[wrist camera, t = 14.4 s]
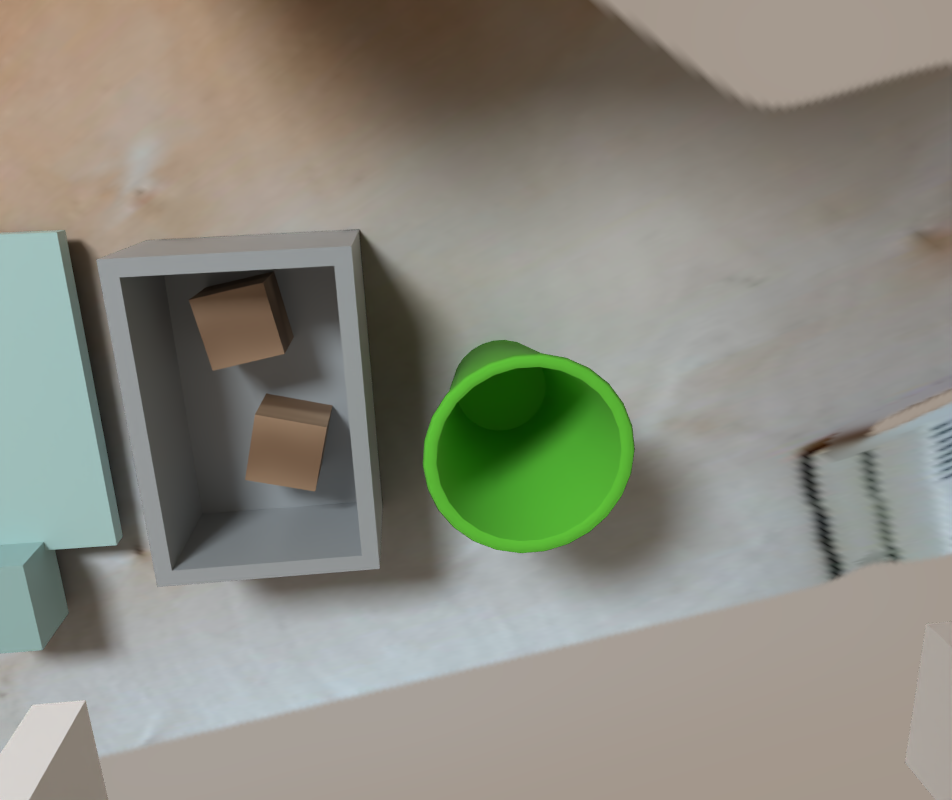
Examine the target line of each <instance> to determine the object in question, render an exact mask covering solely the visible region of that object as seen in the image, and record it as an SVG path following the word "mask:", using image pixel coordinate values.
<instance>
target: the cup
mask: <svg viewBox="0 0 952 800" xmlns="http://www.w3.org/2000/svg"><path fill="white" fill-rule="evenodd" d="M634 450H635V448H634V439H633V430H632V424H631V422H630V419H629V417H628V414H627V411H626V409H625V406H624V404H623V402H622V401H621V399H620V398H619V397H618V395H617V394H616V393H615V391H614V390H613V389H612V387H611V386H610V384H609V383H607V382H606V381H605V380H604V379H602V378H601V377H600V376H599V375H597V374H596V373H595V372H594V371H592V370H591V369H590V368H588V367H586V366H583V365H581V364H579V363H577V362H574V361H572V360H570V359H568V358H564V357H559V356H553V355H547V354H542V353H539V352H537V351H535V350H533V349H531V348H529V347H526V346H524V345H522V344H520V343H517V342H513V341H508V340H498V341H491V342H488V343H485V344H482V345H480V346H478V347H477V348H475V349H473V350H472V351H470V352H469V353H468V354H467V355H466V356H465V357H464V358H463V360H462V361H461V363H460V364H459V366H458V368H457V370H456V373H455V376H454V378H453V381H452V384H451V387H450V390H449V392H448V393H447V394H446V396H445V397H444V399H443V400H442V402H441V403H440V405H439V407H438V408H437V410H436V411H435V413H434V414H433V416H432V418H431V422H430V425H429V428H428V431H427V434H426V437H425V440H424V452H423V469H424V474H425V479H426V484H427V488H428V490H429V492H430V495H431V497H432V499H433V501H434V503H435V505H436V507H437V509H438V510H439V511H440V512H441V514H442V515H443V516H444V517H445V518H446V519H447V520H448V522H449V523H450V524H451V525H452V526H453V527H454V528H455V529H457V530H458V531H460V532H461V533H462V534H464V535H465V536H467V537H468V538H470V539H471V540H473V541H475V542H477V543H480V544H483V545H485V546H488V547H491V548H493V549H496V550H502V551H509V552H517V553H527V552H540V551H547V550H550V549H553V548H556V547H560V546H563V545H566V544H569V543H571V542H572V541H574V540H576V539H578V538H580V537H581V536H583V535H585V534H587V533H588V532H590V531H591V530H592V529H593V528H594V527H595V526H597V525H598V524H599V523H600V522H601V521H602V520H603V519H604V518H606V517H607V516H608V514H609V513H610V511H611V510H612V509H613V507H614V506H615V504H616V503H617V502H618V500H619V499H620V497H621V496H622V494H623V491H624V489H625V487H626V484H627V482H628V479H629V477H630V474H631V470H632V464H633V457H634Z"/></svg>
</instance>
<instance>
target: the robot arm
mask: <svg viewBox="0 0 952 800" xmlns="http://www.w3.org/2000/svg"><path fill="white" fill-rule="evenodd" d="M905 763H906V765H907V766H908V767H909V768H910V769H911V770H912V772H913V773H914V774H915V776H916V777H917V778H918V779H919V780H920V782H921V783H922V784H923V785H924V787H925V788H926V789H927V790H928V792H929V793H930V794H931V795H932V796H933V798H934V799H935V800H952V621H949V622H939V623H927V624H926V628H925V634H924V641H923V648H922V654H921V661H920V667H919V674H918V680H917V687H916V693H915V700H914V707H913V713H912V720H911V727H910V733H909V739H908V746H907V752H906V759H905ZM0 800H108V797H107V793H106V788H105V784H104V779H103V775H102V771H101V766H100V762H99V757H98V753H97V749H96V744H95V740H94V735H93V731H92V727H91V722H90V718H89V714H88V709H87V705H86V701H85V700H82V701H71V702H60V703H49V704H38V705H32V706H31V708H30V709H29V711H28V712H27V714H26V715H25V717H24V718H23V720H22V721H21V723H20V724H19V726H18V728H17V729H16V731H15V732H14V734H13V735H12V737H11V738H10V740H9V741H8V743H7V744H6V746H5V747H4V749H3V750H2V752H1V753H0Z"/></svg>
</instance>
